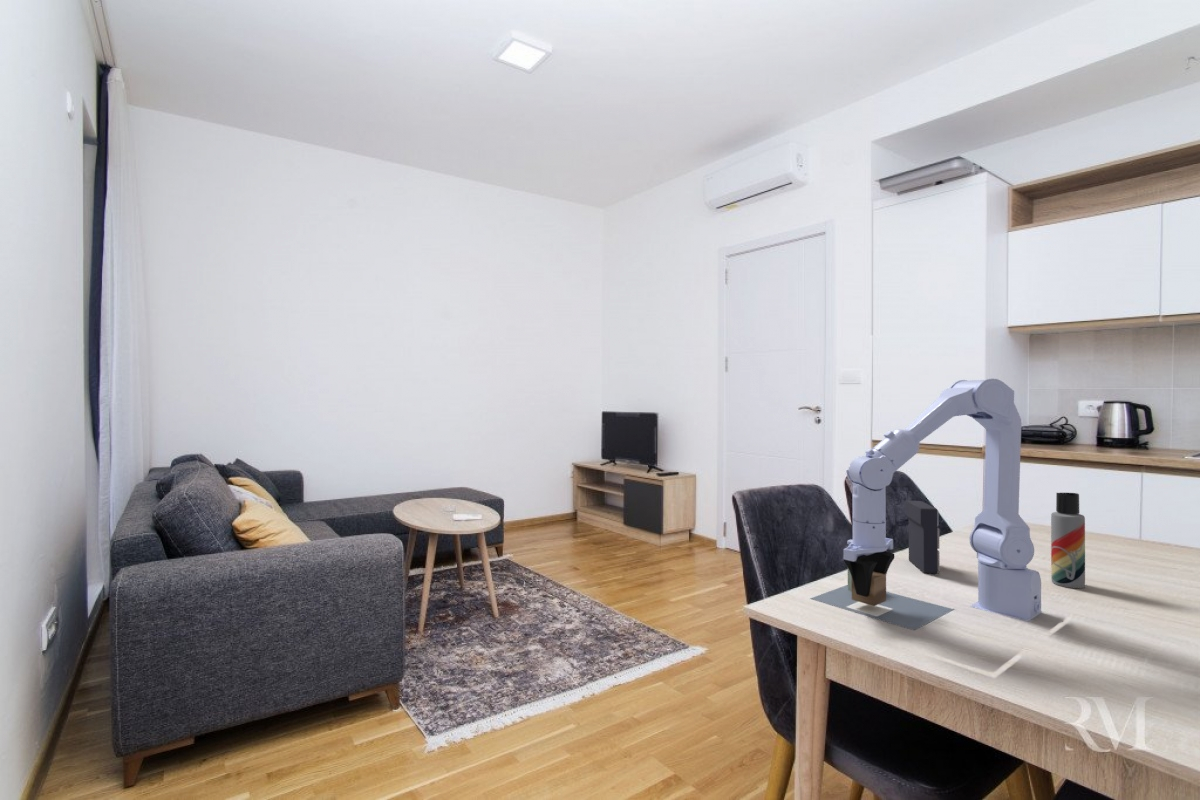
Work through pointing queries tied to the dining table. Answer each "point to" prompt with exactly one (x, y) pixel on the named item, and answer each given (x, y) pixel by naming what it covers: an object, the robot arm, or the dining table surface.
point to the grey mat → (887, 608)
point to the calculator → (923, 536)
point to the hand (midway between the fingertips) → (869, 592)
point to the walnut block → (873, 590)
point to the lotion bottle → (1068, 542)
